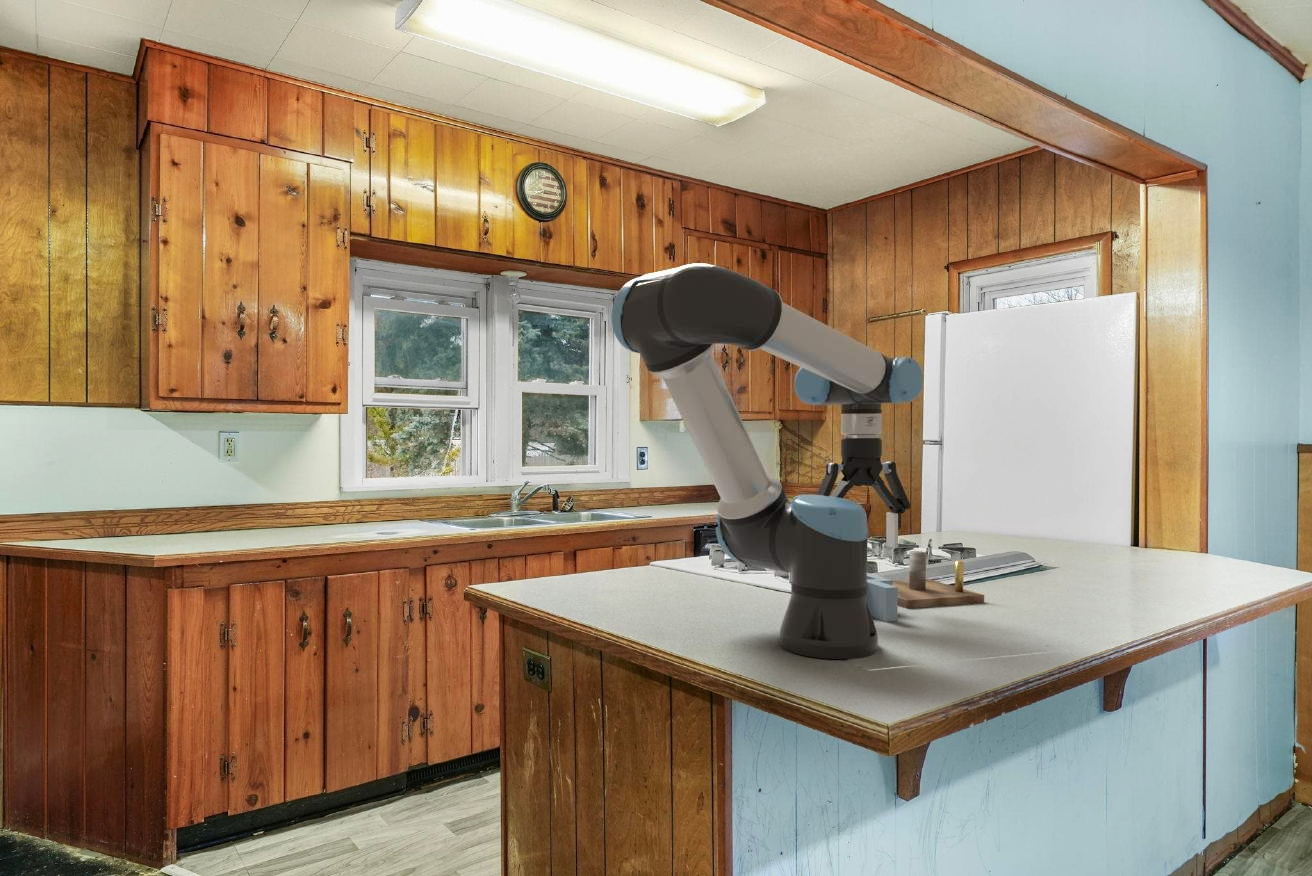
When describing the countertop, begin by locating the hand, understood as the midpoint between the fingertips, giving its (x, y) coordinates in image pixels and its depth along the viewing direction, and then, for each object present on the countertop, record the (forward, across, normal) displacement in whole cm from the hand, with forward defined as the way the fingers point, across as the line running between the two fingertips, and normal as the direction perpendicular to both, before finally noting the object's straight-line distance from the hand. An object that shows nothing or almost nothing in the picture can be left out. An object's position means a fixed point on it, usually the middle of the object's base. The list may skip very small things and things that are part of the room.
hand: (861, 548), depth 153 cm
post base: (+12, +18, +7) cm, 22 cm away
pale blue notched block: (+11, 0, -3) cm, 12 cm away
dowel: (+10, +24, +2) cm, 26 cm away
